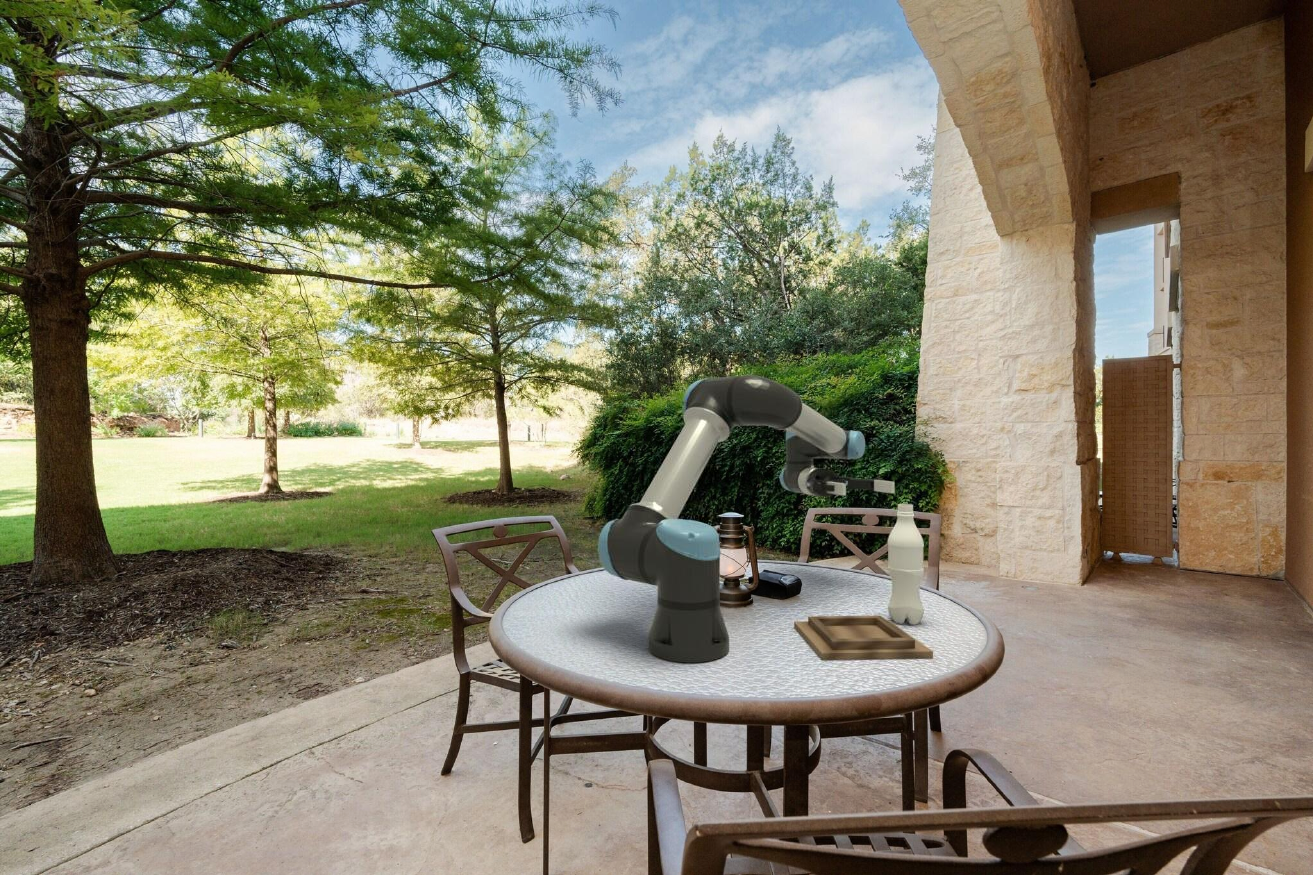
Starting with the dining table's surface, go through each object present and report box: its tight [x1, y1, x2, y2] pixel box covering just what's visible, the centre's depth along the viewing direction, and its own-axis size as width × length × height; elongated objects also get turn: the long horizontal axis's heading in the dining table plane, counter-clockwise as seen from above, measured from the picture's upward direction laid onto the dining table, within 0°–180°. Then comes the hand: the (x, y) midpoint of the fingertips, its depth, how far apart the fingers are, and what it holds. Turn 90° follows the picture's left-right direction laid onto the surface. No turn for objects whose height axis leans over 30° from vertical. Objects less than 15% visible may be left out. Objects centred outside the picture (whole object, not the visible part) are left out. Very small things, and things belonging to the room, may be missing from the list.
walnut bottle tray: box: [793, 615, 934, 661], centre depth 113 cm, size 20×18×3 cm
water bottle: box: [887, 503, 925, 626], centre depth 126 cm, size 7×7×25 cm
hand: (869, 488), depth 138 cm, fingers open, 13 cm apart
